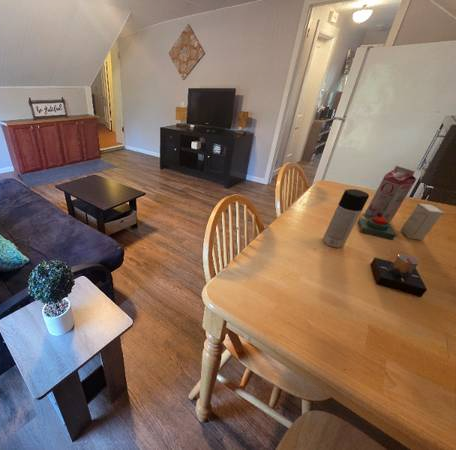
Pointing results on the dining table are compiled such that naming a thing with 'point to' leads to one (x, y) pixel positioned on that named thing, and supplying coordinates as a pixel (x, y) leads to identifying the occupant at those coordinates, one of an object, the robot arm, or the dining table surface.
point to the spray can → (345, 217)
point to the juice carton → (391, 193)
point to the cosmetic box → (421, 221)
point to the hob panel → (397, 278)
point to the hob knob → (403, 265)
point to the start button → (380, 220)
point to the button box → (376, 228)
